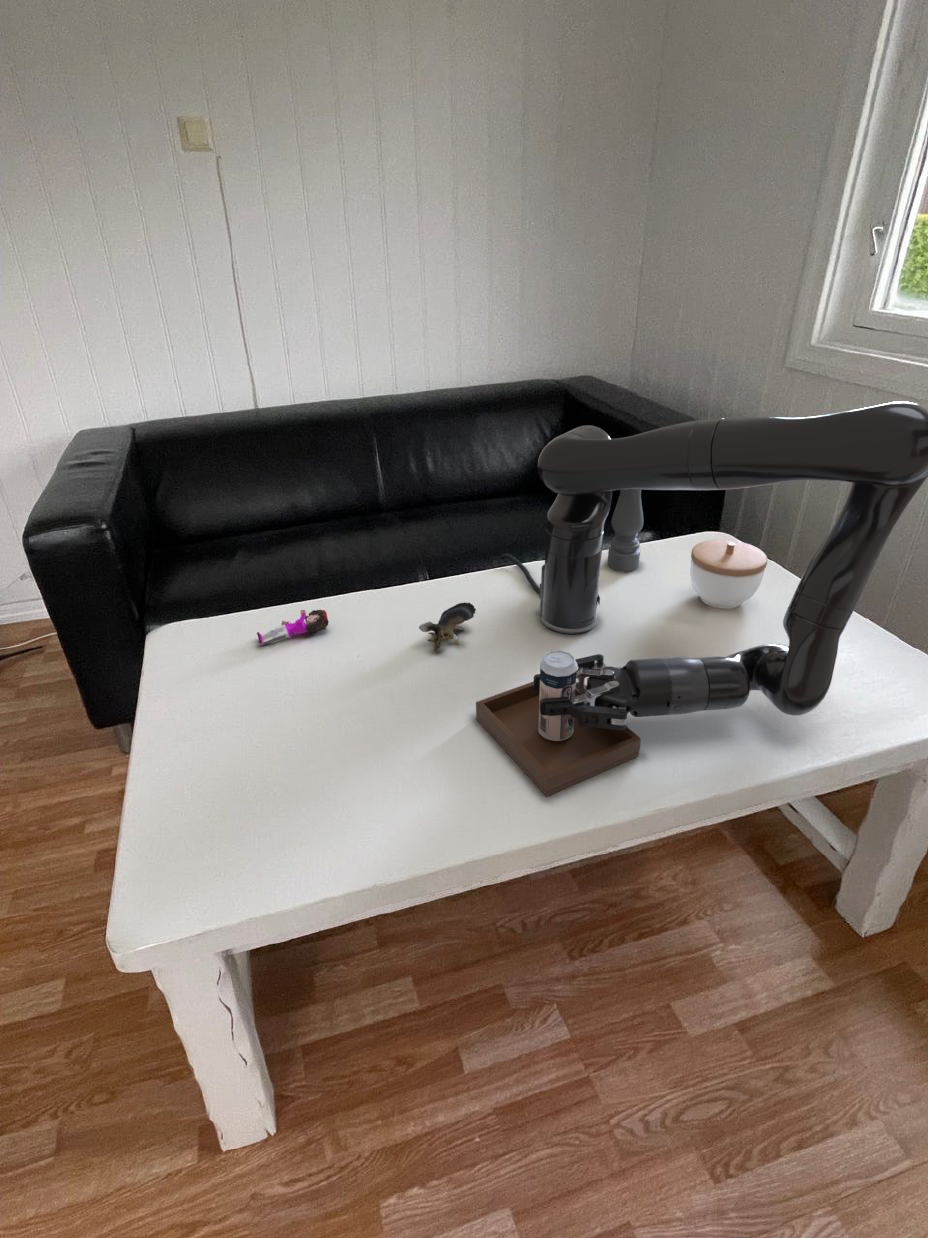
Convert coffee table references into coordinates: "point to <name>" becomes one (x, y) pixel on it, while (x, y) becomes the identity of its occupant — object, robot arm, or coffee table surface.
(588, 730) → the tray
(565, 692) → the beer can
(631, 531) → the candle holder
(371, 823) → the coffee table surface
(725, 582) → the lidded bowl
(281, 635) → the character figurine
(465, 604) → the brown irregular figure
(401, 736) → the coffee table surface
